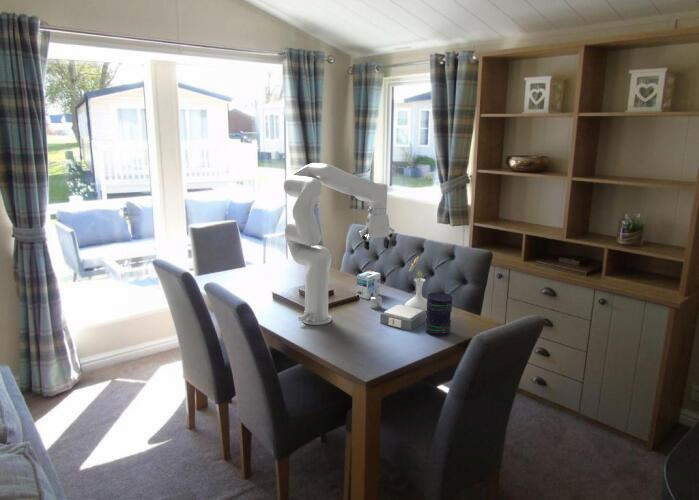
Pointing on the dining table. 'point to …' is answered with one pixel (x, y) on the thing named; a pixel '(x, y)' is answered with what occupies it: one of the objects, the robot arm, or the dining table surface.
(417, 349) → the dining table surface
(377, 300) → the steel weight
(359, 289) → the light bulb box
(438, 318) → the storage jar
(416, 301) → the flower in vase
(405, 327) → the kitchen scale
